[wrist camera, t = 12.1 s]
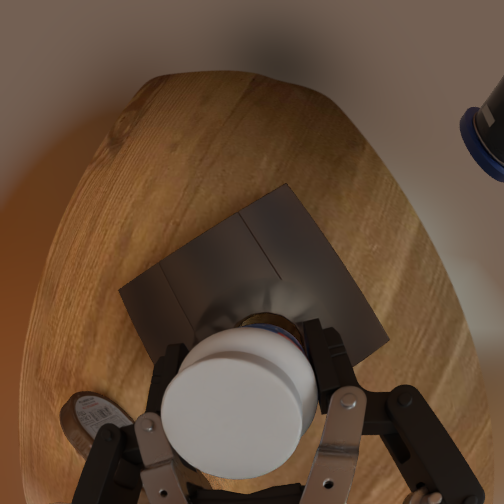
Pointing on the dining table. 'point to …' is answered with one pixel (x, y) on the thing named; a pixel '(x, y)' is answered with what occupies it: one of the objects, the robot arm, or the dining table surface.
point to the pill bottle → (240, 402)
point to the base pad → (252, 282)
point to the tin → (91, 422)
